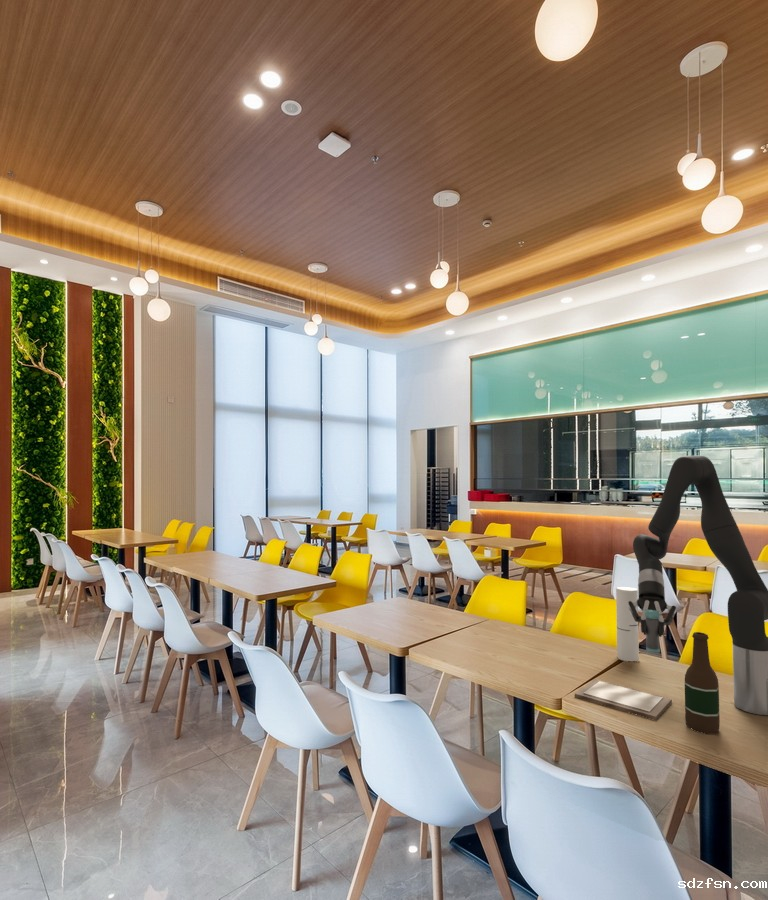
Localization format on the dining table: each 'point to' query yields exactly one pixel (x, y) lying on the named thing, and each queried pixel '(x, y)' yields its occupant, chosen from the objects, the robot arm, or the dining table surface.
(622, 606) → the cylindrical container
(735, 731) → the dining table surface
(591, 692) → the writing board
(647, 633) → the teal-capped glass tube
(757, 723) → the dining table surface
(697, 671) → the beer bottle
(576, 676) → the dining table surface
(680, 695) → the dining table surface
